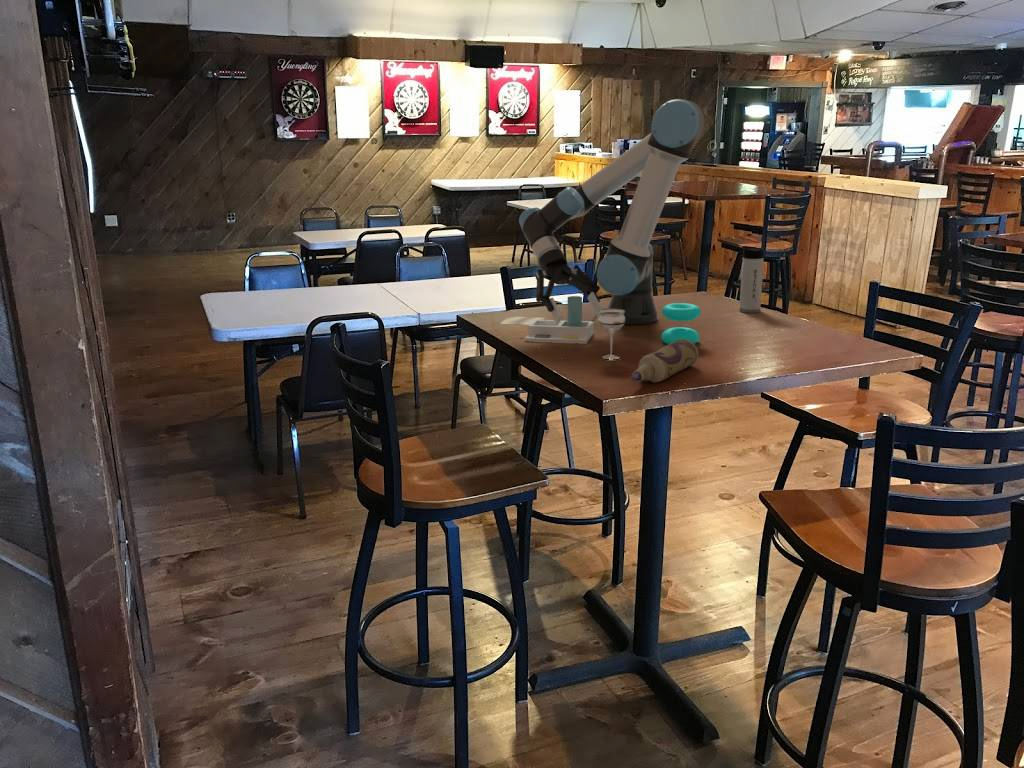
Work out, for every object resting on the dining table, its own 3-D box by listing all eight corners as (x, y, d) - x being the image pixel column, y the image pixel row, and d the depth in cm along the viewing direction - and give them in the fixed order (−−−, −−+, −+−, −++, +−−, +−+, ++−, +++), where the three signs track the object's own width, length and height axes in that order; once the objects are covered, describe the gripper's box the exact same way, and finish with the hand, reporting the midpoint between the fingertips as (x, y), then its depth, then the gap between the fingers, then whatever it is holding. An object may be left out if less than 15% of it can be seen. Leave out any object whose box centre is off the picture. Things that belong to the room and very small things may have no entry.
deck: (546, 321, 251) (546, 317, 251) (539, 328, 242) (539, 325, 242) (508, 319, 254) (508, 316, 254) (499, 327, 245) (499, 323, 245)
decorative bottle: (670, 362, 204) (672, 336, 202) (699, 367, 200) (700, 340, 198) (616, 388, 185) (617, 359, 183) (646, 394, 180) (647, 365, 178)
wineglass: (605, 353, 214) (606, 307, 210) (629, 356, 210) (630, 310, 206) (592, 359, 208) (593, 312, 205) (616, 362, 205) (617, 315, 201)
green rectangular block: (580, 330, 234) (580, 295, 231) (582, 334, 230) (583, 298, 227) (566, 331, 233) (566, 296, 230) (568, 334, 229) (568, 299, 227)
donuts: (703, 309, 215) (664, 309, 215) (702, 346, 218) (663, 347, 218) (697, 301, 224) (660, 302, 225) (696, 337, 227) (659, 338, 228)
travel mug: (742, 308, 263) (746, 244, 257) (763, 310, 259) (767, 246, 253) (735, 311, 258) (738, 247, 252) (755, 314, 254) (760, 248, 248)
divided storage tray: (593, 333, 234) (593, 321, 233) (586, 343, 223) (586, 331, 222) (534, 331, 238) (534, 319, 237) (525, 341, 227) (524, 329, 226)
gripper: (580, 260, 245) (610, 318, 237) (507, 268, 233) (536, 330, 225) (590, 243, 239) (622, 303, 231) (516, 251, 227) (547, 314, 219)
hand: (580, 316), depth 228 cm, fingers open, 13 cm apart
